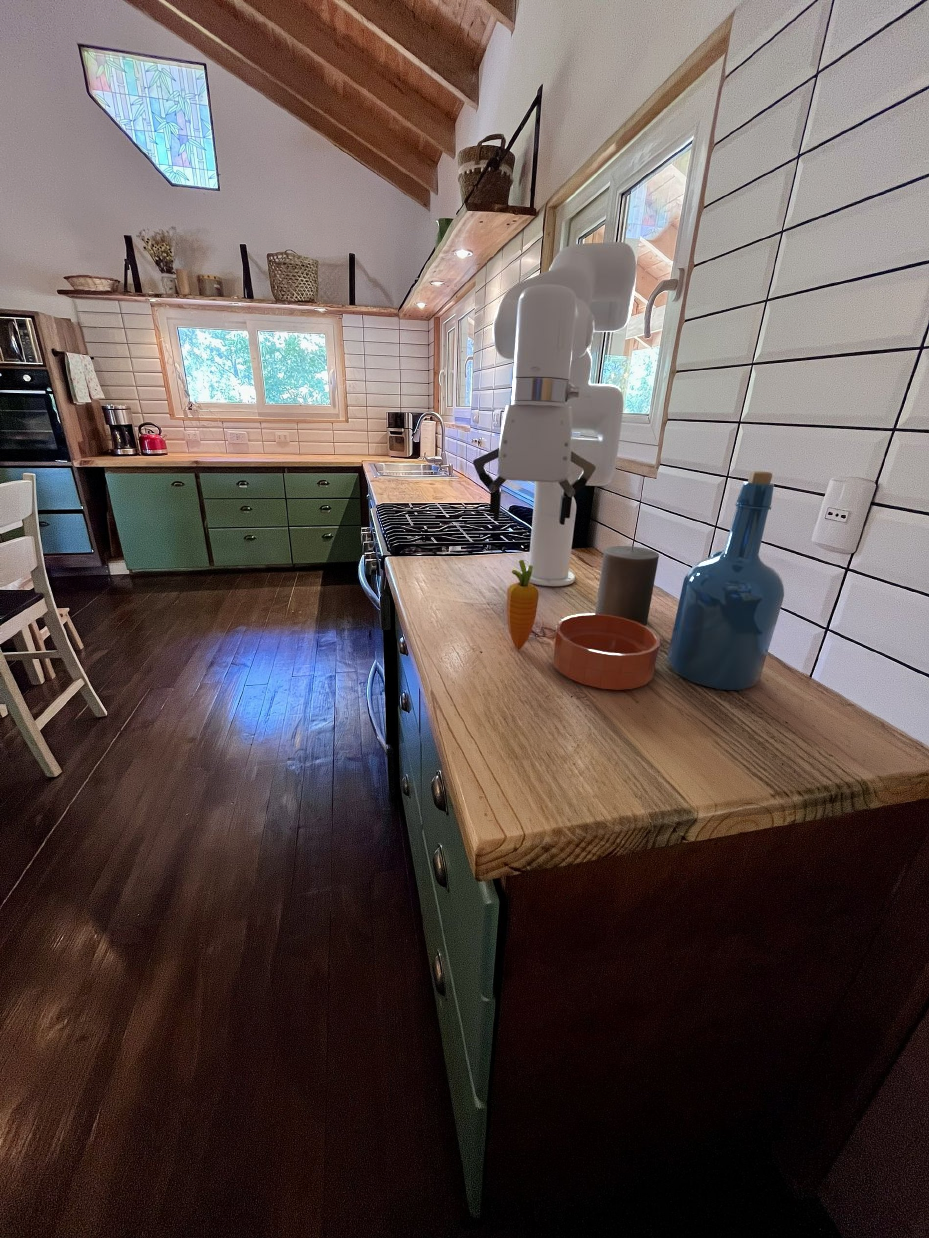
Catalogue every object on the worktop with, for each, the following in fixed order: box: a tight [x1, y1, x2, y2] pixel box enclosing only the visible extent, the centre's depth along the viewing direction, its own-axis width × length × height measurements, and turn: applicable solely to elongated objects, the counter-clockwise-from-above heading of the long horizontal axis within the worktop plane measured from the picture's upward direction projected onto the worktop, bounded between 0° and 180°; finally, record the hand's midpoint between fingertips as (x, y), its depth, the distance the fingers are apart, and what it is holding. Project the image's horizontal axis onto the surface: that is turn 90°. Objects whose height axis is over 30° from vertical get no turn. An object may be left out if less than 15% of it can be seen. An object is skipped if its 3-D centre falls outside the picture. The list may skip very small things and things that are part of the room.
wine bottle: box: [667, 470, 785, 691], centre depth 72 cm, size 14×13×30 cm
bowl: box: [551, 613, 661, 691], centre depth 76 cm, size 15×15×6 cm
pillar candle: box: [594, 544, 660, 627], centre depth 92 cm, size 10×10×15 cm
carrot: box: [506, 559, 540, 651], centre depth 79 cm, size 5×5×15 cm
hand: (528, 521), depth 74 cm, fingers open, 9 cm apart
